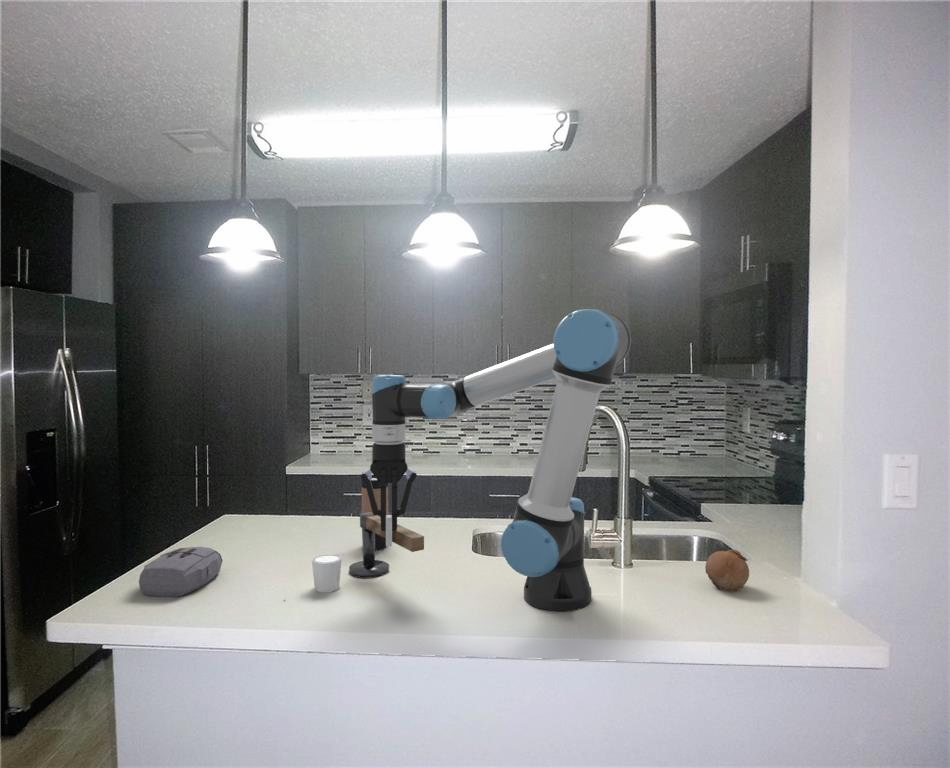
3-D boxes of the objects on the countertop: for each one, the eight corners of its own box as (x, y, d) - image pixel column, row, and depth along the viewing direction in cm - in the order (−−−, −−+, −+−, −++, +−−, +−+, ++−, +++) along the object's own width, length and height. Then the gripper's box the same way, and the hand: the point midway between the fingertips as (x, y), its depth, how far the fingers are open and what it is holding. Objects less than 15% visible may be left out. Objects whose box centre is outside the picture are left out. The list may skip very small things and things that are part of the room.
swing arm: (357, 525, 158) (357, 513, 157) (372, 522, 160) (372, 511, 160) (409, 552, 135) (409, 539, 135) (426, 549, 138) (426, 535, 138)
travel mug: (386, 551, 174) (385, 480, 173) (359, 550, 174) (358, 480, 173) (390, 543, 182) (390, 475, 181) (364, 542, 182) (364, 475, 181)
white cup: (305, 590, 144) (305, 560, 144) (325, 580, 150) (325, 552, 150) (328, 595, 141) (328, 565, 141) (348, 585, 147) (347, 556, 147)
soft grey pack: (191, 600, 139) (234, 570, 159) (190, 563, 138) (234, 537, 158) (128, 597, 140) (179, 568, 160) (127, 561, 140) (178, 536, 160)
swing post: (397, 570, 158) (396, 527, 157) (365, 580, 150) (365, 535, 150) (372, 561, 164) (372, 520, 164) (341, 571, 157) (340, 528, 157)
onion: (737, 597, 147) (754, 559, 148) (740, 601, 139) (758, 560, 140) (698, 578, 151) (715, 540, 152) (698, 579, 143) (716, 540, 143)
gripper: (359, 444, 137) (359, 550, 137) (417, 443, 138) (417, 548, 139) (360, 440, 144) (361, 541, 145) (416, 439, 146) (416, 539, 147)
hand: (389, 544), depth 142 cm, fingers closed
